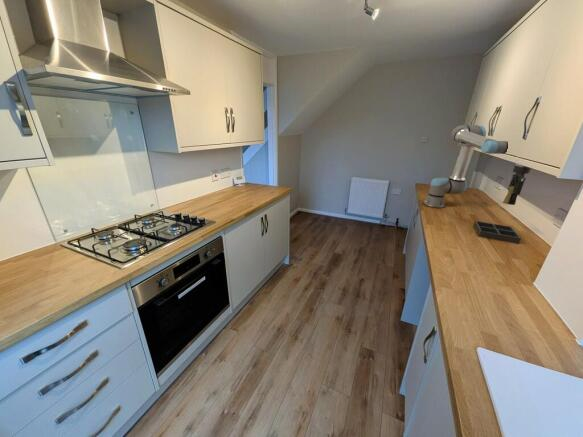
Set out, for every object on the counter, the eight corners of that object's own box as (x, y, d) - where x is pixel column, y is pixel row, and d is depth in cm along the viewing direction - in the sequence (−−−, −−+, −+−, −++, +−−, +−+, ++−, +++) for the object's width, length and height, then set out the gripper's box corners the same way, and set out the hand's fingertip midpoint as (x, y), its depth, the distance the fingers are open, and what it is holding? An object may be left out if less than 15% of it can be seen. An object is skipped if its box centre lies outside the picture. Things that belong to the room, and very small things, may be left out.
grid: (473, 225, 164) (475, 220, 162) (509, 231, 155) (511, 226, 154) (478, 236, 148) (480, 231, 146) (518, 243, 140) (521, 238, 138)
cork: (517, 205, 146) (524, 187, 142) (506, 204, 147) (512, 187, 143) (511, 202, 152) (517, 185, 148) (500, 201, 153) (506, 184, 149)
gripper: (510, 163, 150) (497, 198, 159) (520, 167, 135) (506, 206, 143) (525, 164, 147) (512, 200, 156) (537, 169, 131) (522, 208, 140)
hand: (509, 202), depth 149 cm, fingers closed on cork, 6 cm apart
